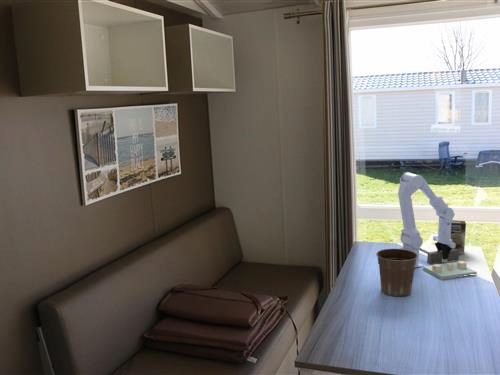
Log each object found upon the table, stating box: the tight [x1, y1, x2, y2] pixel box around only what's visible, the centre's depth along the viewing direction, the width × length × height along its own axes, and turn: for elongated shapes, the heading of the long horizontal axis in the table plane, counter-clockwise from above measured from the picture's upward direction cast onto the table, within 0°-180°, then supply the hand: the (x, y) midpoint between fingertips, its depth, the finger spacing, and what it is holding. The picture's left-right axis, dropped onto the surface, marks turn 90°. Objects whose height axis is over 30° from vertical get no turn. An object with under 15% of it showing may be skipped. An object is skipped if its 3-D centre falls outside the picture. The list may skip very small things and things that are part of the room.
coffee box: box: [451, 219, 467, 255], centre depth 263 cm, size 9×6×16 cm
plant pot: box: [375, 248, 418, 297], centre depth 214 cm, size 16×16×16 cm
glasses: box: [419, 247, 460, 265], centre depth 254 cm, size 16×10×5 cm, turn 106°
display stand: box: [422, 260, 478, 281], centre depth 235 cm, size 18×14×4 cm
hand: (443, 258), depth 251 cm, fingers closed on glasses, 2 cm apart
